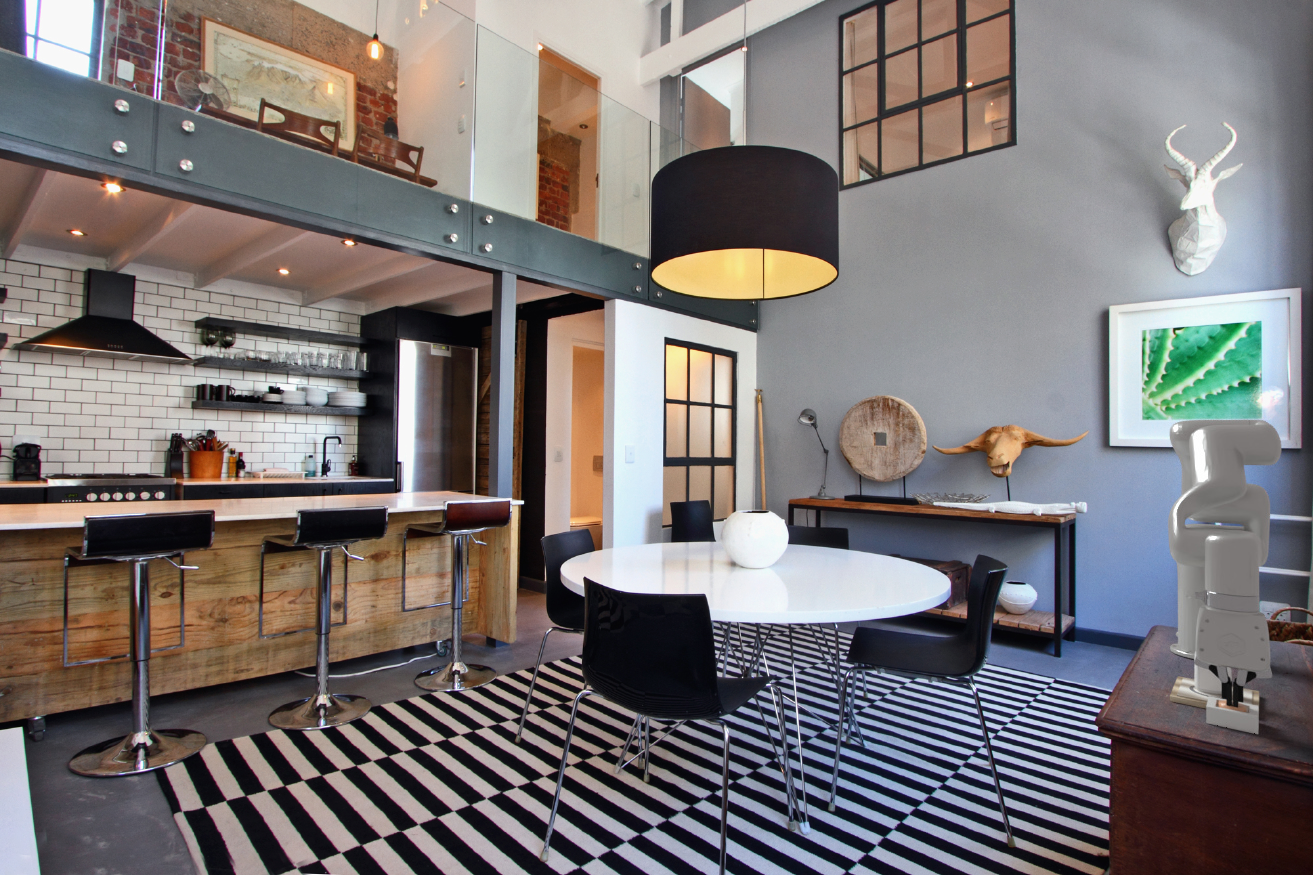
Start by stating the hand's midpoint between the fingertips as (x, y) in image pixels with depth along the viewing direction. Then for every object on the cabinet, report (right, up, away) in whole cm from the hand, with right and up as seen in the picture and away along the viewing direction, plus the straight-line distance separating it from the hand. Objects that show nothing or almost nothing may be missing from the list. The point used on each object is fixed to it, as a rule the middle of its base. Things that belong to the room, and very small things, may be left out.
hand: (1232, 704), depth 122 cm
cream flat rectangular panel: (+7, -4, +12) cm, 14 cm away
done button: (0, -2, 0) cm, 2 cm away
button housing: (0, -3, 0) cm, 3 cm away
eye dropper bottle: (+7, -3, +12) cm, 14 cm away
